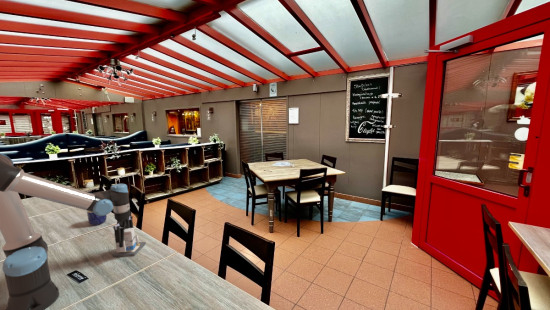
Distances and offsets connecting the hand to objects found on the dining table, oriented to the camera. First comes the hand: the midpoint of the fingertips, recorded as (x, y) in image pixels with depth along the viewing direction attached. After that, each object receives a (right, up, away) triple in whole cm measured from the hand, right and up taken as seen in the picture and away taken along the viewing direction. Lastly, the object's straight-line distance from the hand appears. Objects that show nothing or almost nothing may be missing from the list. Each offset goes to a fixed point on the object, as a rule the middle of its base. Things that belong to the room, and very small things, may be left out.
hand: (126, 248), depth 126 cm
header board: (0, -3, +4) cm, 4 cm away
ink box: (0, -1, 0) cm, 1 cm away
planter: (-47, +2, +37) cm, 61 cm away
